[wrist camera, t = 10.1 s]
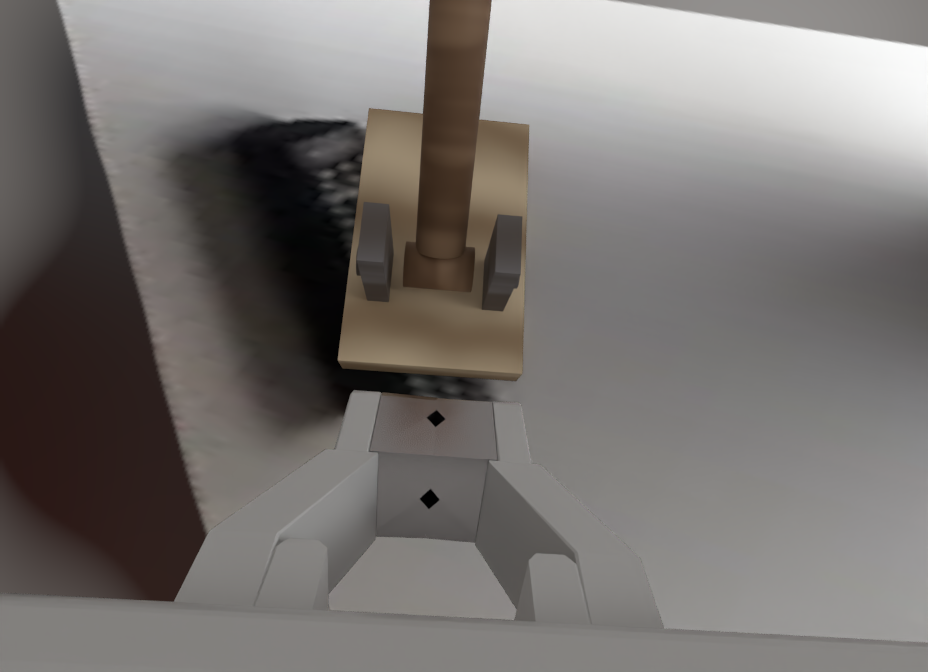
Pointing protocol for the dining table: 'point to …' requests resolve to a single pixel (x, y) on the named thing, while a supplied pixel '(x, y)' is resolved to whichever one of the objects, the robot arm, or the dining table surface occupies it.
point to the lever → (448, 146)
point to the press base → (395, 221)
